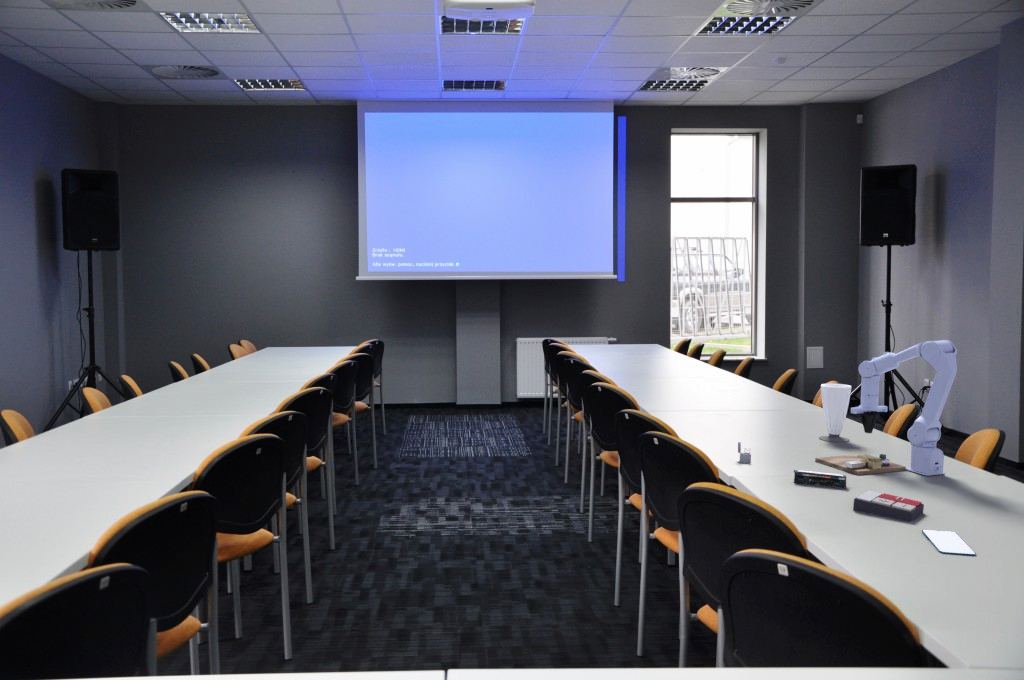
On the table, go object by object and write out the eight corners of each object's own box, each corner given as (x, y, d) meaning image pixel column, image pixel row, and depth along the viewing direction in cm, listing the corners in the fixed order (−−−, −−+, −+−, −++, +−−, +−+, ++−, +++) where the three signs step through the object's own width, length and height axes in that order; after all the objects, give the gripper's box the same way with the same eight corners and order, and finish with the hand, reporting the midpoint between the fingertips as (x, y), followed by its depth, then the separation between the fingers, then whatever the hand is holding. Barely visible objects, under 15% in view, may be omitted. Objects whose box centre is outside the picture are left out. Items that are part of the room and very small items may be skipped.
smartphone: (977, 558, 181) (954, 535, 197) (977, 554, 181) (955, 531, 197) (939, 555, 183) (920, 532, 199) (939, 551, 183) (920, 529, 199)
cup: (820, 441, 307) (822, 386, 305) (816, 435, 318) (818, 382, 316) (852, 443, 304) (854, 387, 302) (846, 437, 315) (849, 384, 314)
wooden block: (881, 468, 259) (881, 458, 258) (872, 469, 258) (873, 459, 257) (865, 463, 265) (865, 454, 265) (856, 464, 264) (857, 454, 264)
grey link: (882, 461, 267) (882, 457, 267) (892, 464, 263) (892, 460, 263) (843, 465, 261) (843, 461, 261) (853, 468, 257) (853, 464, 257)
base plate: (905, 470, 262) (906, 457, 261) (857, 475, 255) (858, 461, 255) (860, 457, 280) (861, 444, 280) (815, 461, 274) (815, 448, 274)
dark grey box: (912, 509, 206) (853, 496, 216) (910, 525, 207) (852, 511, 217) (924, 501, 214) (867, 488, 224) (923, 516, 215) (866, 502, 225)
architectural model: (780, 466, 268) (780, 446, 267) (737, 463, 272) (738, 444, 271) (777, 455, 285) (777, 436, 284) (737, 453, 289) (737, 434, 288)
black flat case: (786, 477, 254) (787, 464, 253) (871, 487, 243) (872, 473, 243) (781, 488, 241) (782, 475, 240) (870, 499, 230) (871, 485, 230)
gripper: (877, 392, 282) (875, 429, 283) (844, 394, 277) (843, 431, 278) (892, 395, 275) (891, 433, 276) (859, 396, 271) (858, 435, 272)
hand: (868, 432), depth 277 cm, fingers closed
